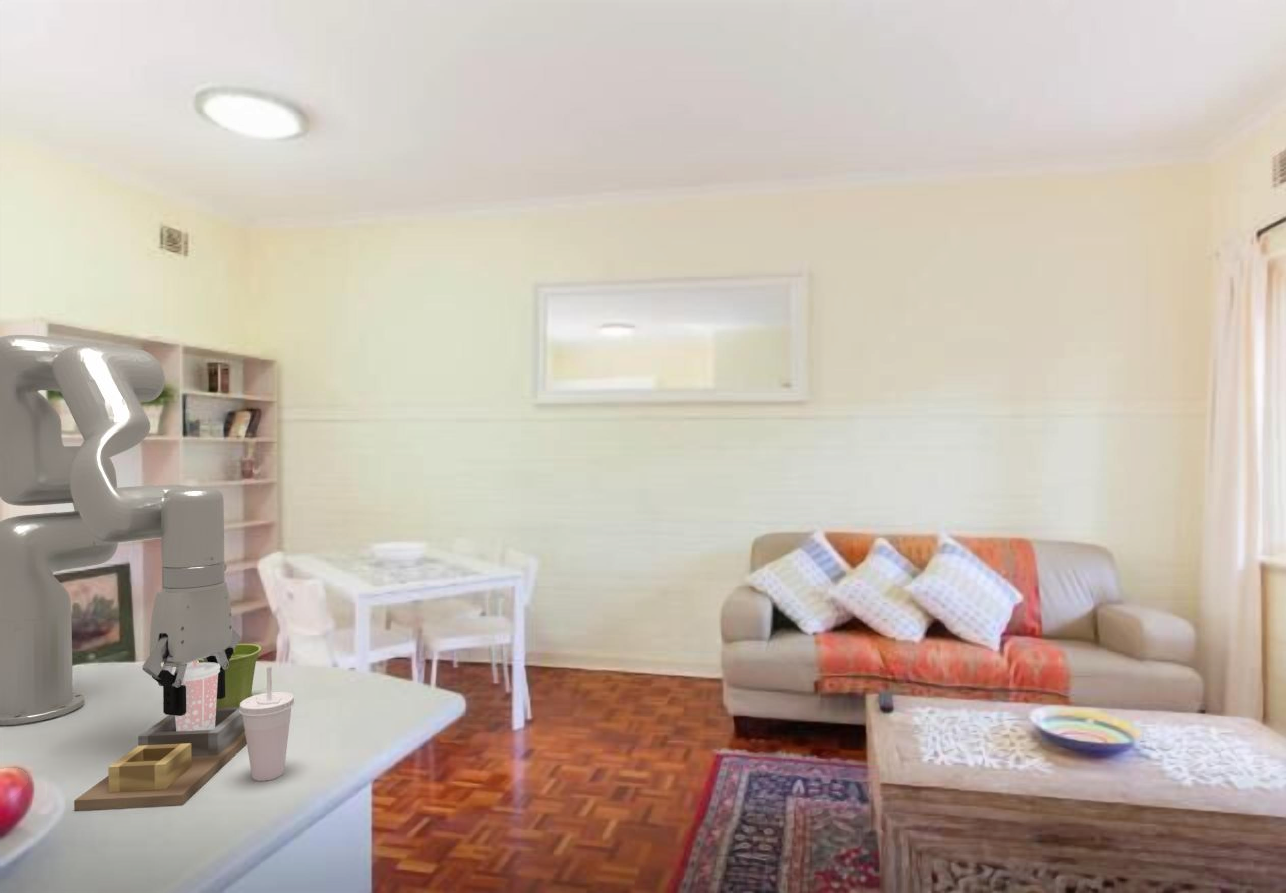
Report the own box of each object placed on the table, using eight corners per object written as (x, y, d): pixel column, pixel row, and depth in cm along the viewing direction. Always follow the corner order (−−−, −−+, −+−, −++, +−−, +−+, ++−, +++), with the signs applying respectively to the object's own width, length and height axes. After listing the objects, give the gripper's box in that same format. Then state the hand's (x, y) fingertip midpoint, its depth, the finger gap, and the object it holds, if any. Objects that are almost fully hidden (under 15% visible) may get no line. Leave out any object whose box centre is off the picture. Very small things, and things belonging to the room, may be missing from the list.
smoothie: (258, 790, 94) (257, 676, 93) (229, 778, 97) (227, 669, 97) (305, 770, 99) (304, 663, 99) (276, 760, 102) (275, 656, 102)
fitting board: (171, 737, 111) (171, 708, 111) (257, 733, 112) (257, 704, 112) (74, 810, 89) (73, 774, 89) (182, 804, 90) (182, 769, 90)
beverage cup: (211, 721, 110) (210, 624, 110) (228, 731, 106) (226, 631, 106) (163, 733, 106) (162, 633, 106) (179, 745, 102) (177, 640, 101)
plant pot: (266, 706, 123) (265, 653, 123) (199, 718, 118) (198, 663, 118) (257, 690, 131) (256, 640, 131) (194, 701, 126) (193, 649, 126)
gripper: (220, 565, 115) (221, 684, 115) (115, 587, 98) (116, 726, 98) (262, 567, 113) (263, 688, 113) (162, 590, 96) (164, 731, 97)
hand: (195, 704), depth 106 cm, fingers closed on beverage cup, 6 cm apart
